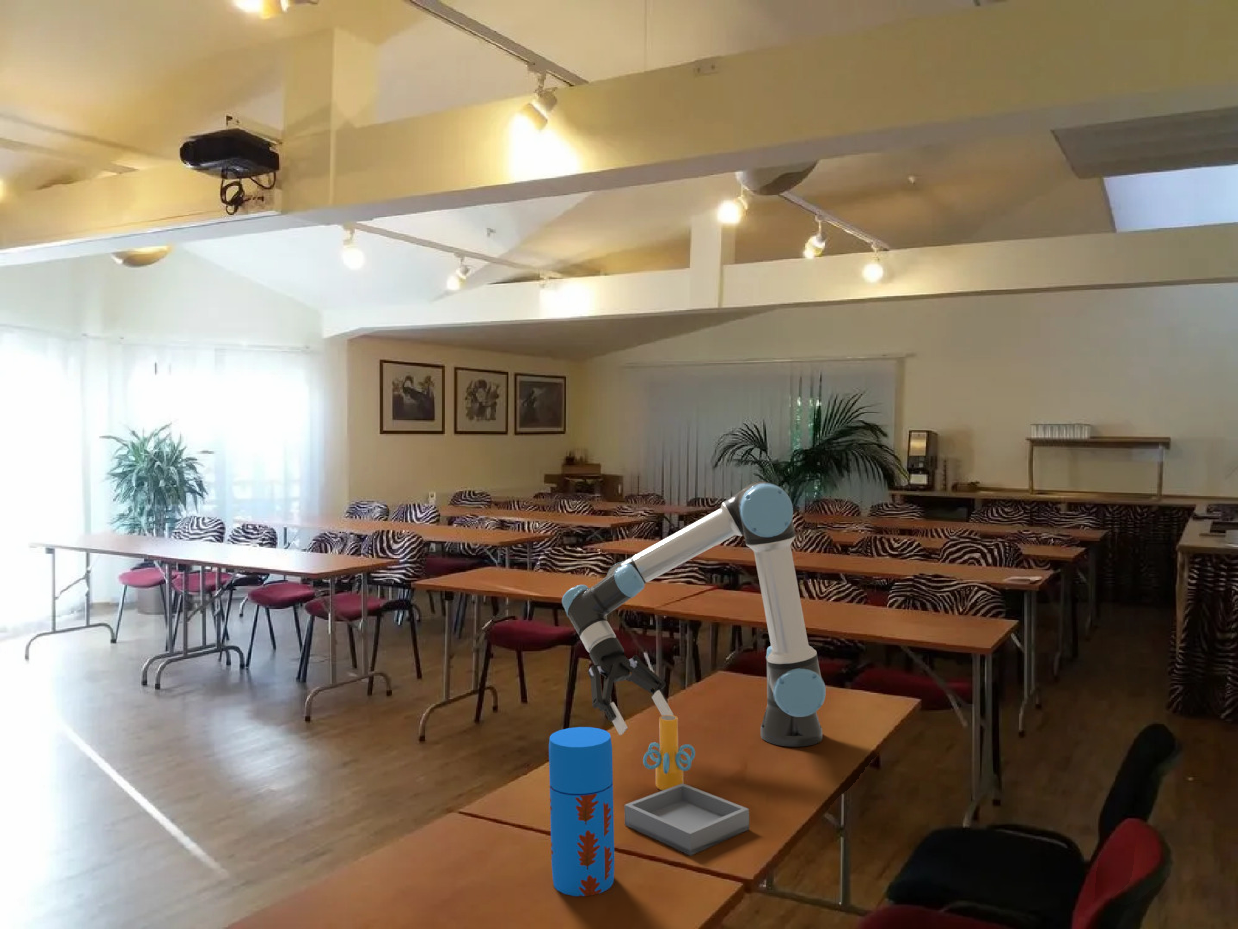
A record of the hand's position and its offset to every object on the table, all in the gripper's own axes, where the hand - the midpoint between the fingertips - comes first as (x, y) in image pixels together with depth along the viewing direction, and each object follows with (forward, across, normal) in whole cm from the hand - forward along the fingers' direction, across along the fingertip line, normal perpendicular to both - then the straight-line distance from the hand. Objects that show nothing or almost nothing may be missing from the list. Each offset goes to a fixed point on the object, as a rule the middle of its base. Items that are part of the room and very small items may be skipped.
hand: (647, 725), depth 203 cm
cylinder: (+13, -1, -4) cm, 14 cm away
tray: (+25, +11, +8) cm, 28 cm away
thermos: (+27, +39, +10) cm, 49 cm away
